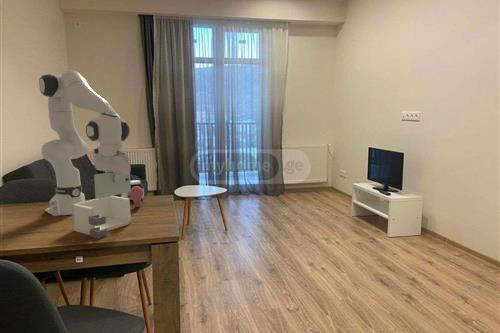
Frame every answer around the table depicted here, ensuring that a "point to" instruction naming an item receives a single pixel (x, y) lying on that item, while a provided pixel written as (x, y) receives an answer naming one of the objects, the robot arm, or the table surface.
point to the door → (111, 184)
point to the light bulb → (136, 195)
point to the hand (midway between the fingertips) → (113, 182)
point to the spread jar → (132, 184)
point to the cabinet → (101, 215)
